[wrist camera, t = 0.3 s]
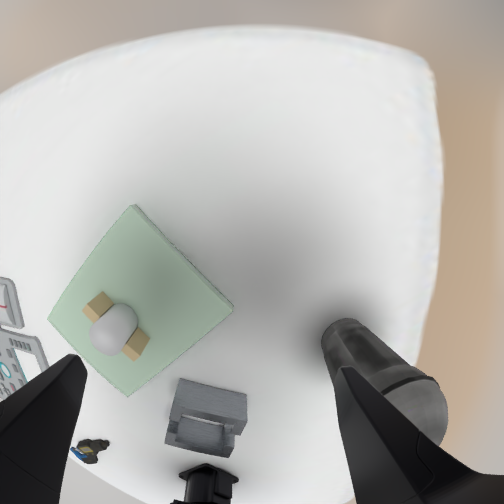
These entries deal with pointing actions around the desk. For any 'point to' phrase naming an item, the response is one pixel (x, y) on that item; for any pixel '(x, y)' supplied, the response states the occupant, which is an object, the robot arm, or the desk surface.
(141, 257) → the keyed post stand
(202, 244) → the desk surface
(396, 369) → the beverage cup
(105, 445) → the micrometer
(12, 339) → the office telephone
